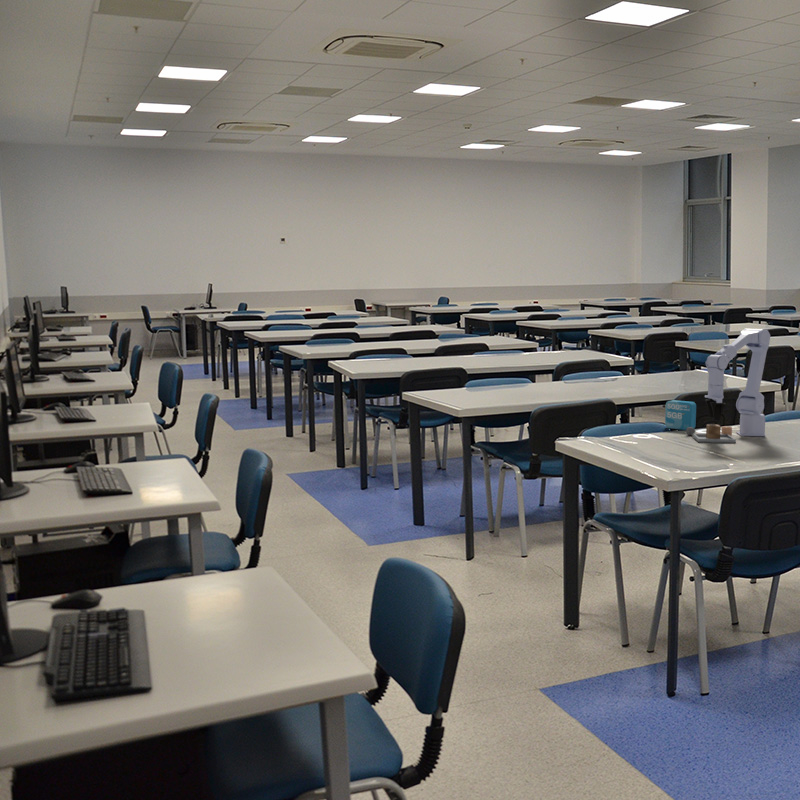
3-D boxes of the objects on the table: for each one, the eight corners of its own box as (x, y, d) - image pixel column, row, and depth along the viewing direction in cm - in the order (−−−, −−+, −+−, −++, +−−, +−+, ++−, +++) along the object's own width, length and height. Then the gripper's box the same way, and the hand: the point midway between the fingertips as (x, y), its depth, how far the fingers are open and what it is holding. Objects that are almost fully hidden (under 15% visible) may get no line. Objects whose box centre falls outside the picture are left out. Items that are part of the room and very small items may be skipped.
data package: (664, 427, 365) (665, 400, 364) (669, 426, 368) (670, 399, 367) (690, 430, 357) (691, 403, 355) (695, 429, 360) (696, 402, 358)
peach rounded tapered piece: (730, 435, 343) (730, 426, 343) (732, 437, 340) (733, 427, 339) (720, 435, 344) (720, 426, 344) (722, 437, 340) (722, 427, 340)
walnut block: (717, 438, 336) (718, 424, 335) (720, 440, 331) (720, 426, 331) (705, 437, 337) (706, 424, 336) (708, 439, 332) (708, 426, 331)
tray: (728, 437, 339) (728, 434, 339) (735, 443, 327) (735, 439, 327) (692, 437, 341) (692, 433, 341) (698, 442, 329) (698, 438, 329)
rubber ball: (693, 434, 347) (694, 426, 347) (695, 436, 344) (695, 427, 343) (685, 434, 348) (685, 426, 347) (686, 435, 344) (686, 427, 344)
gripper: (701, 382, 339) (700, 415, 341) (709, 387, 324) (708, 421, 326) (719, 382, 338) (718, 415, 339) (728, 387, 323) (727, 421, 325)
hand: (714, 418), depth 333 cm, fingers open, 7 cm apart
